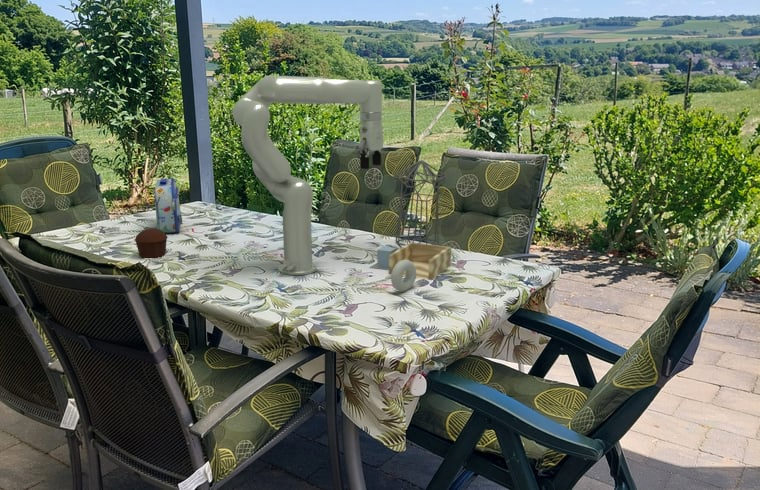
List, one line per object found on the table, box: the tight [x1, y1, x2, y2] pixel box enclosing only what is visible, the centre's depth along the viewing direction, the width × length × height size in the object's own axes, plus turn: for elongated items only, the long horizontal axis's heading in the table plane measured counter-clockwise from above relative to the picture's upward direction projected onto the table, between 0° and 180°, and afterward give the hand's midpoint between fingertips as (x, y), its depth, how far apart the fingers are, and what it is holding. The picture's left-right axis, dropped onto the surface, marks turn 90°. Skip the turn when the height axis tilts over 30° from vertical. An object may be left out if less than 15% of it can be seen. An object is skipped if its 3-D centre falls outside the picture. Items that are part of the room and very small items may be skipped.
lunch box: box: [154, 178, 183, 234], centre depth 282 cm, size 28×10×22 cm, turn 17°
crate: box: [388, 241, 452, 281], centre depth 227 cm, size 19×15×7 cm
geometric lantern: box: [393, 160, 448, 249], centre depth 243 cm, size 16×16×35 cm
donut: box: [390, 260, 417, 292], centre depth 206 cm, size 10×3×10 cm, turn 135°
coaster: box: [369, 262, 389, 271], centre depth 231 cm, size 9×9×1 cm
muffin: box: [134, 227, 169, 259], centre depth 244 cm, size 12×11×10 cm
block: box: [376, 245, 398, 268], centre depth 231 cm, size 5×5×6 cm
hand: (370, 166), depth 234 cm, fingers open, 9 cm apart
